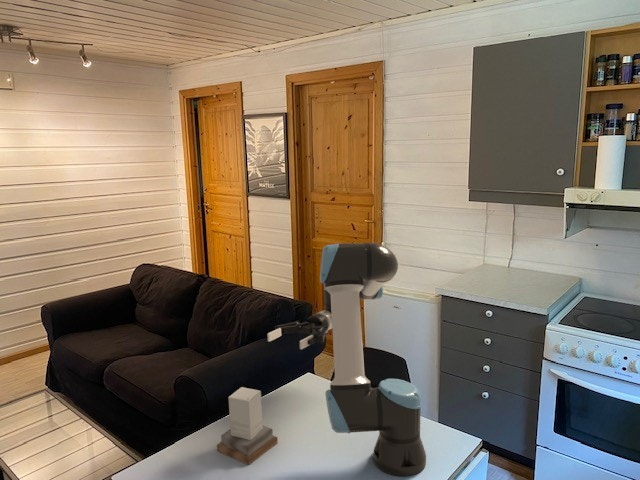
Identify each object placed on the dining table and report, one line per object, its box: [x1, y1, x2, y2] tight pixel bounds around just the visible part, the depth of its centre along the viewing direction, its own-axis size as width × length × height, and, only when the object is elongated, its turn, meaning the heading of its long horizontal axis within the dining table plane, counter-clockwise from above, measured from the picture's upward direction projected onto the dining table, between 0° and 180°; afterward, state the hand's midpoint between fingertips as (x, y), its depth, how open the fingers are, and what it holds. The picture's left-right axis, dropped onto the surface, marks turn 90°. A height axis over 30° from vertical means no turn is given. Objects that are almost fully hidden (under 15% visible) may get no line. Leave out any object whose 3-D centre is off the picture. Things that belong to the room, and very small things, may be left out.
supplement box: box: [227, 386, 264, 440], centre depth 147 cm, size 7×7×13 cm
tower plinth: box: [216, 425, 278, 466], centre depth 149 cm, size 13×13×5 cm
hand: (284, 341), depth 161 cm, fingers open, 13 cm apart
